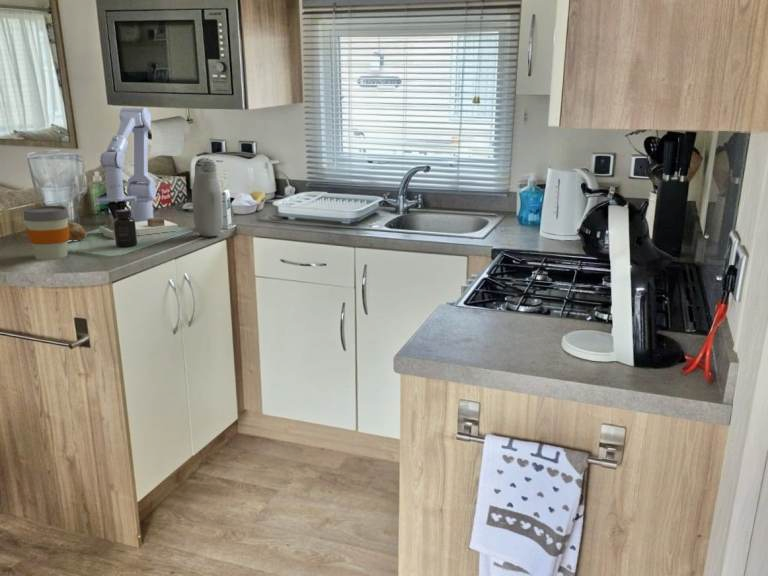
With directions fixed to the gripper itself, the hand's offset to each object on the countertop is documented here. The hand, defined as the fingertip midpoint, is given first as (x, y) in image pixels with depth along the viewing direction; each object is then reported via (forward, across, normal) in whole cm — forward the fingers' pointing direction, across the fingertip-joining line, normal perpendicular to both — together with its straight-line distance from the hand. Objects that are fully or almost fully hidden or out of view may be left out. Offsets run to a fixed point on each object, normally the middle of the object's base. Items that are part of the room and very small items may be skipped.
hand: (118, 222), depth 246 cm
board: (+4, +11, -3) cm, 12 cm away
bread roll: (+4, -18, -2) cm, 18 cm away
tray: (+4, -1, -3) cm, 5 cm away
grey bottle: (+4, +23, -26) cm, 35 cm away
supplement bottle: (+4, -6, -23) cm, 24 cm away
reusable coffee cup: (+4, -30, -24) cm, 38 cm away
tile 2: (+1, +11, -7) cm, 13 cm away
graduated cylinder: (+4, +34, -15) cm, 38 cm away
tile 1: (0, -1, 0) cm, 1 cm away
